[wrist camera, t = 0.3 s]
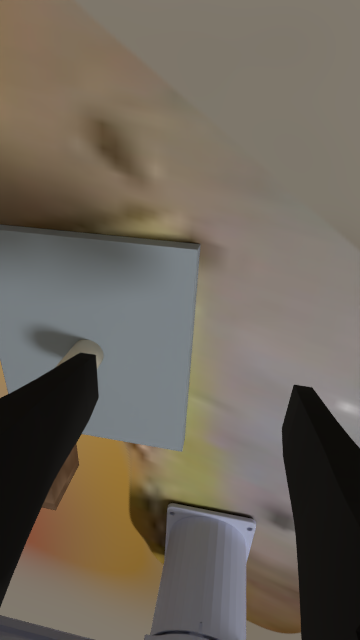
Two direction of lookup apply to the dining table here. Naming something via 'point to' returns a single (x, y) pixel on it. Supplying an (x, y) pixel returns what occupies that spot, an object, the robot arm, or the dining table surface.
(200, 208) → the dining table surface
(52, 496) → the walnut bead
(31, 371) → the grey rectangular slab
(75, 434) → the robot arm
